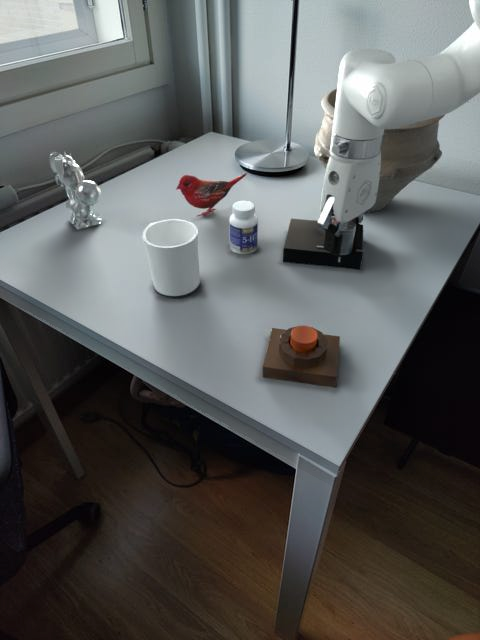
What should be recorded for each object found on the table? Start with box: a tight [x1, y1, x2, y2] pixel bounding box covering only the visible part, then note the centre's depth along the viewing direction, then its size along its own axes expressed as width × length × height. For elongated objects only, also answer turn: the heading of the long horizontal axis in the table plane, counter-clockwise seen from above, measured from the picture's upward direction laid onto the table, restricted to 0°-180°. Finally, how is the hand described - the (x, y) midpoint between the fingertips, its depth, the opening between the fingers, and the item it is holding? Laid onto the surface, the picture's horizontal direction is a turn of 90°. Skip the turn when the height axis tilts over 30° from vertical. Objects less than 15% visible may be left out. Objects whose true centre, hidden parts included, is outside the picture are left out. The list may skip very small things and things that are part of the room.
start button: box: [290, 325, 318, 353], centre depth 63 cm, size 4×4×2 cm
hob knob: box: [332, 220, 356, 255], centre depth 81 cm, size 4×4×5 cm
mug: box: [141, 218, 201, 299], centre depth 78 cm, size 11×9×10 cm
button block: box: [262, 325, 341, 388], centre depth 65 cm, size 10×8×4 cm
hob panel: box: [282, 218, 365, 271], centre depth 86 cm, size 14×14×3 cm
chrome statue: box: [48, 151, 103, 230], centre depth 92 cm, size 15×6×15 cm, turn 39°
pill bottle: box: [229, 200, 259, 255], centre depth 86 cm, size 5×5×9 cm
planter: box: [313, 88, 446, 213], centre depth 94 cm, size 25×24×22 cm
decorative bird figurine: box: [175, 173, 248, 217], centre depth 97 cm, size 3×18×10 cm, turn 127°
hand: (340, 245), depth 82 cm, fingers closed on hob knob, 4 cm apart
